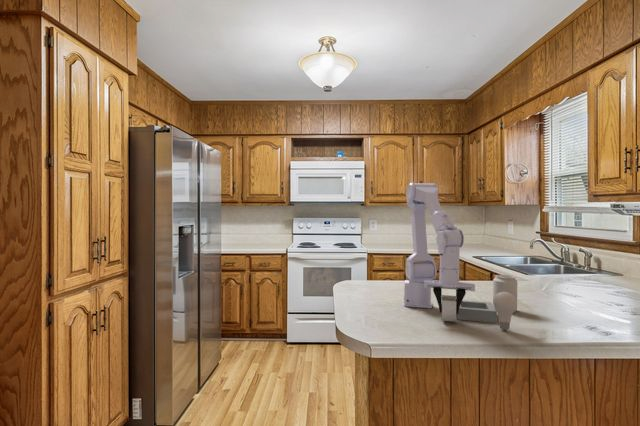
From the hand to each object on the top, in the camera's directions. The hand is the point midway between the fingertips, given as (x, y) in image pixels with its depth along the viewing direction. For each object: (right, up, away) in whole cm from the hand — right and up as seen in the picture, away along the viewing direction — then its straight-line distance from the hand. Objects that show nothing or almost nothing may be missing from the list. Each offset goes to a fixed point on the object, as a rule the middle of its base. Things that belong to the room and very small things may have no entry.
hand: (448, 312), depth 112 cm
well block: (+11, -3, +7) cm, 13 cm away
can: (+24, -3, +14) cm, 28 cm away
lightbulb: (+13, -3, -7) cm, 16 cm away
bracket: (0, -2, 0) cm, 2 cm away
